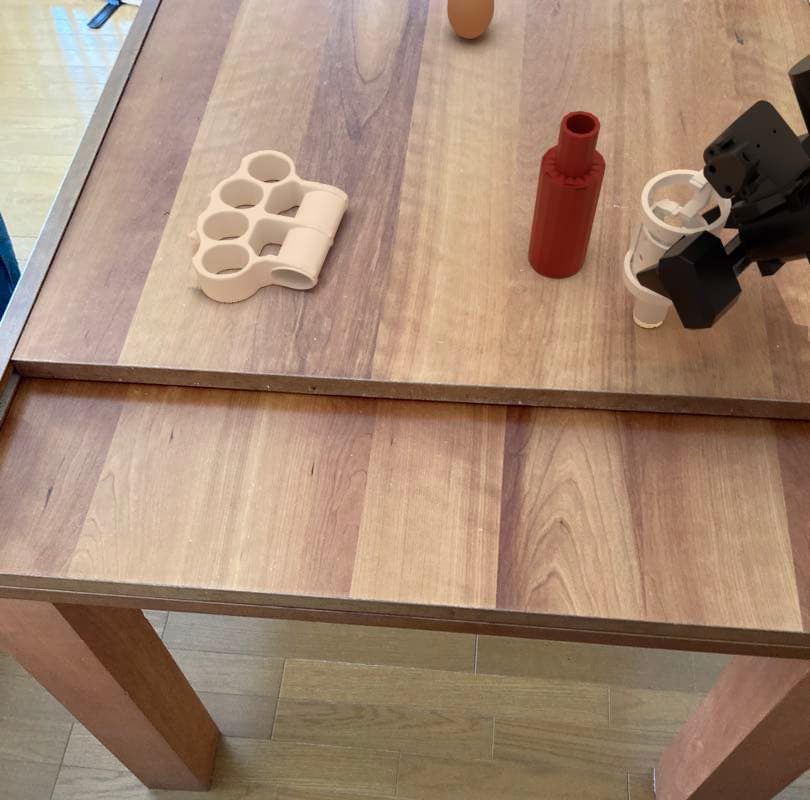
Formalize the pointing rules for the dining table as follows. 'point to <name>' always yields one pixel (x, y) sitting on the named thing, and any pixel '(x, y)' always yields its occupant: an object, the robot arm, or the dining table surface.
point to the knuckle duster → (265, 229)
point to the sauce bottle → (567, 198)
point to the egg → (470, 16)
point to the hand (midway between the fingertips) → (671, 248)
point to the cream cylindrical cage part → (666, 234)
